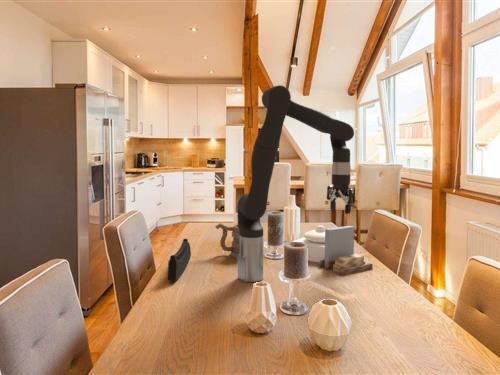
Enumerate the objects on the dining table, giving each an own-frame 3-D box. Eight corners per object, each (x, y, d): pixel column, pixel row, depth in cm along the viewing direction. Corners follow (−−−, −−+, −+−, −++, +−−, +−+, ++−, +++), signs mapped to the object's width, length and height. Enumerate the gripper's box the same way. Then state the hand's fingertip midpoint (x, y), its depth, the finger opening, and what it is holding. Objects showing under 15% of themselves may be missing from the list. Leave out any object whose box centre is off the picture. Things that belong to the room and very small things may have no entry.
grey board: (328, 268, 173) (329, 230, 172) (324, 267, 176) (325, 229, 174) (353, 263, 181) (354, 226, 179) (349, 262, 183) (350, 225, 181)
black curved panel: (174, 263, 156) (188, 224, 184) (165, 262, 156) (181, 224, 184) (177, 300, 163) (191, 257, 191) (169, 300, 163) (184, 257, 191)
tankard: (259, 251, 205) (259, 221, 204) (256, 259, 193) (256, 226, 191) (218, 250, 208) (218, 220, 206) (213, 257, 195) (213, 225, 193)
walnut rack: (340, 279, 165) (340, 268, 164) (317, 269, 177) (317, 259, 176) (373, 271, 174) (373, 261, 173) (348, 263, 186) (349, 253, 185)
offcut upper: (341, 266, 168) (342, 260, 168) (335, 264, 171) (335, 258, 171) (363, 262, 174) (363, 256, 174) (356, 259, 178) (356, 253, 177)
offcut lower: (339, 273, 168) (340, 266, 167) (333, 270, 171) (333, 264, 171) (365, 267, 175) (365, 261, 175) (358, 265, 178) (358, 259, 178)
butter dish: (328, 268, 180) (329, 231, 178) (291, 260, 191) (292, 226, 189) (345, 258, 194) (346, 224, 192) (311, 252, 205) (311, 220, 203)
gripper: (322, 172, 178) (321, 210, 180) (346, 174, 166) (345, 215, 168) (335, 171, 182) (335, 208, 183) (360, 173, 170) (359, 213, 171)
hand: (340, 212), depth 176 cm, fingers open, 8 cm apart
